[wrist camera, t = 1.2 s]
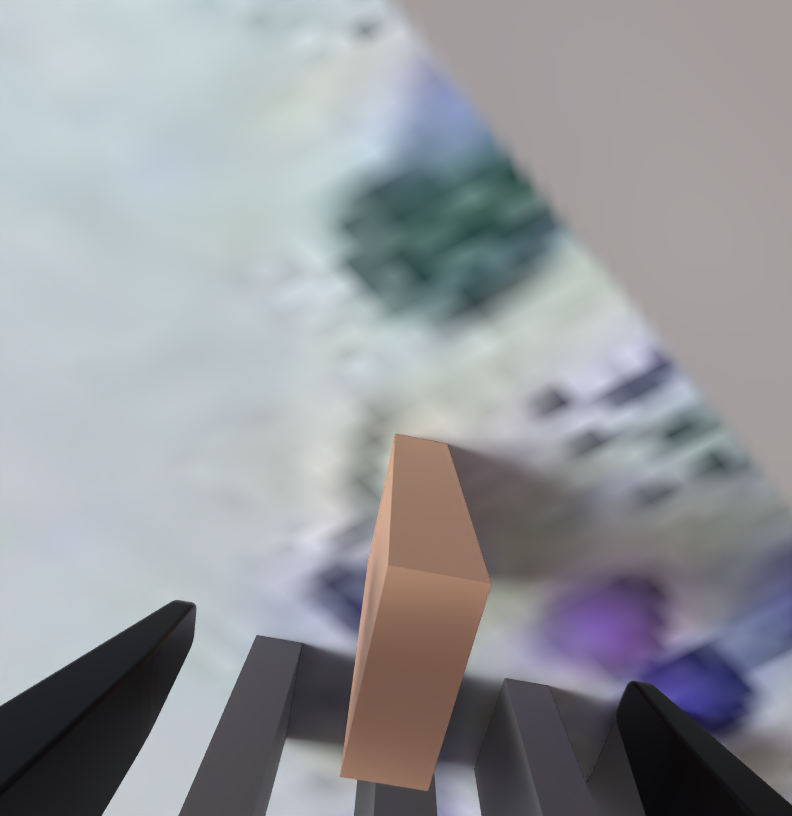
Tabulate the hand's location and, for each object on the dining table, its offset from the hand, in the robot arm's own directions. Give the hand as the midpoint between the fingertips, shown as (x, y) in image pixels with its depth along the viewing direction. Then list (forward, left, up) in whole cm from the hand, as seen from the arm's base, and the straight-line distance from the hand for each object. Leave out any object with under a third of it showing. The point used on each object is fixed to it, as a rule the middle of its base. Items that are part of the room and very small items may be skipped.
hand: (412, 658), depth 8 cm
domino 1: (-7, +7, -6) cm, 12 cm away
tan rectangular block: (0, 0, -6) cm, 6 cm away
